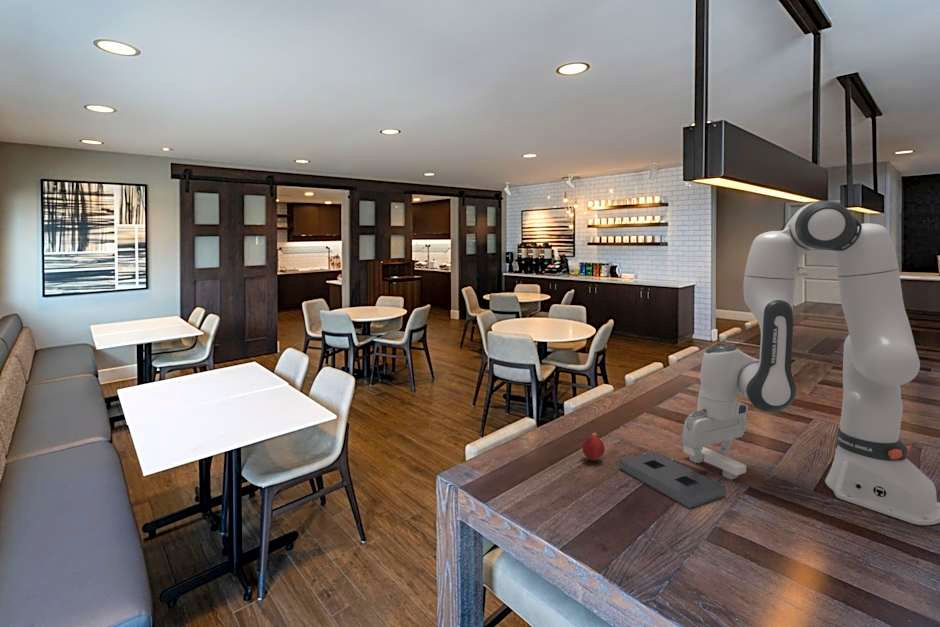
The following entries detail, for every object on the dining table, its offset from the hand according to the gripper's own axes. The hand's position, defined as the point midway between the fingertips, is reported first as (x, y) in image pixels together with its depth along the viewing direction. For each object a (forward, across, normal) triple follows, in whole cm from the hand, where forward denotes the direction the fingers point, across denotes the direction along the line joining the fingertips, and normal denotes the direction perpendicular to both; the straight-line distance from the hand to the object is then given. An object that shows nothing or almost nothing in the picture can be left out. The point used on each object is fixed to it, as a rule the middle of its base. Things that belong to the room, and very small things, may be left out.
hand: (711, 457), depth 133 cm
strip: (+3, 0, 0) cm, 3 cm away
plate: (+3, -16, -1) cm, 16 cm away
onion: (+4, -25, +17) cm, 31 cm away
